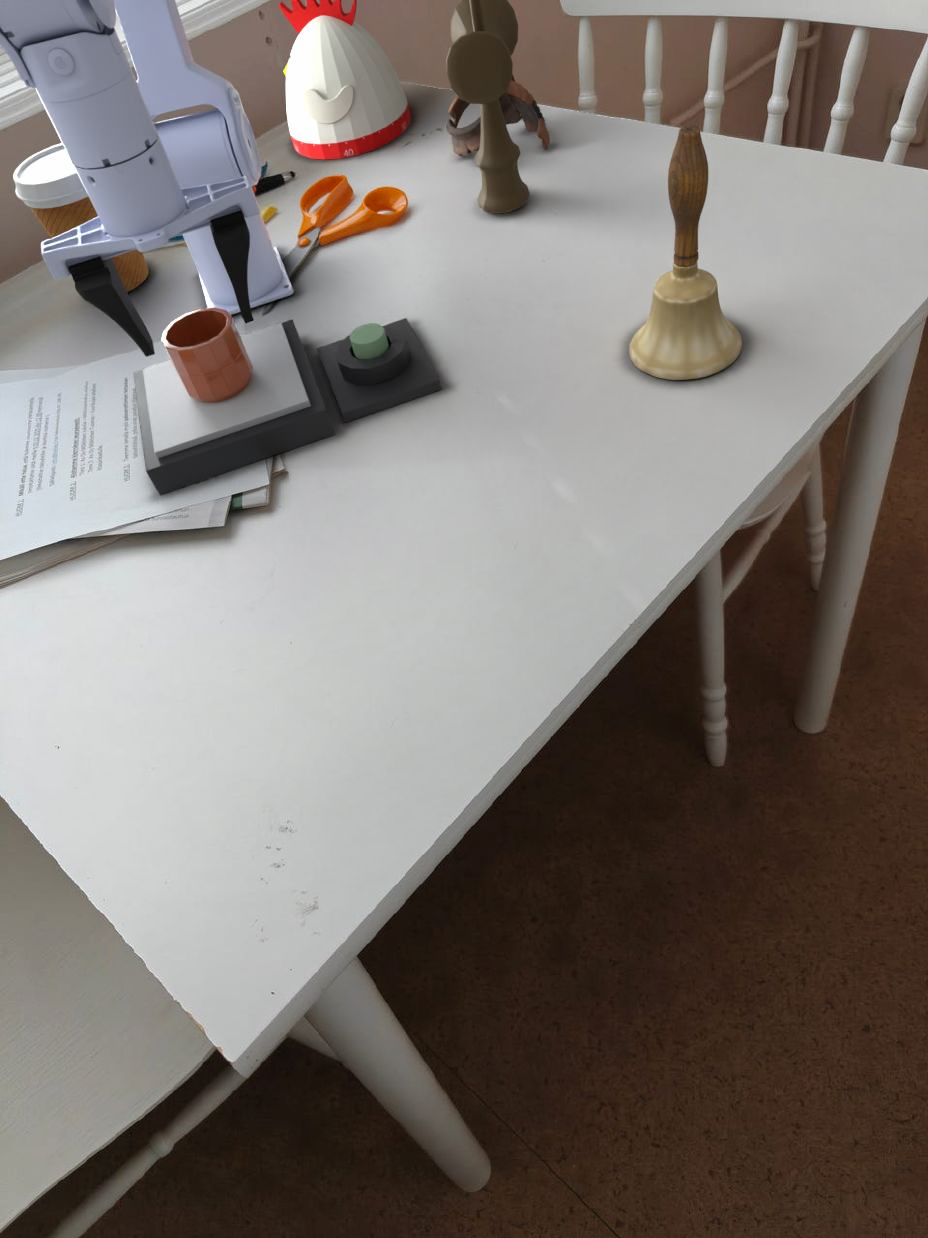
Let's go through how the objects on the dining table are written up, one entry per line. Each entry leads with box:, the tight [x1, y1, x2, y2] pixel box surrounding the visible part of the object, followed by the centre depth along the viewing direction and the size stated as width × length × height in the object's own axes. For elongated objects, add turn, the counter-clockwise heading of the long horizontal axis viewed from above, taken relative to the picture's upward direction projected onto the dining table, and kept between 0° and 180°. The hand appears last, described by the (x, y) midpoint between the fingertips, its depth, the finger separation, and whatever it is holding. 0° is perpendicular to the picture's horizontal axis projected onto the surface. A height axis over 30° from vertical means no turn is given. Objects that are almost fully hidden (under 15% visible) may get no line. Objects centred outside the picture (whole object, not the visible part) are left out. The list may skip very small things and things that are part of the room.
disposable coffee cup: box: [12, 142, 150, 293], centre depth 89 cm, size 10×10×12 cm
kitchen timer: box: [278, 0, 412, 160], centre depth 101 cm, size 14×14×15 cm
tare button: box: [349, 323, 389, 359], centre depth 73 cm, size 3×3×2 cm
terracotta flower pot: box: [160, 307, 253, 403], centre depth 71 cm, size 5×6×5 cm
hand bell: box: [628, 124, 743, 381], centre depth 64 cm, size 8×8×16 cm
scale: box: [132, 318, 336, 496], centre depth 74 cm, size 14×14×3 cm
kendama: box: [445, 0, 530, 214], centre depth 82 cm, size 6×10×20 cm, turn 176°
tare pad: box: [316, 317, 443, 423], centre depth 74 cm, size 10×8×2 cm
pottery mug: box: [445, 73, 551, 157], centre depth 96 cm, size 12×10×8 cm
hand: (198, 332), depth 69 cm, fingers open, 7 cm apart
